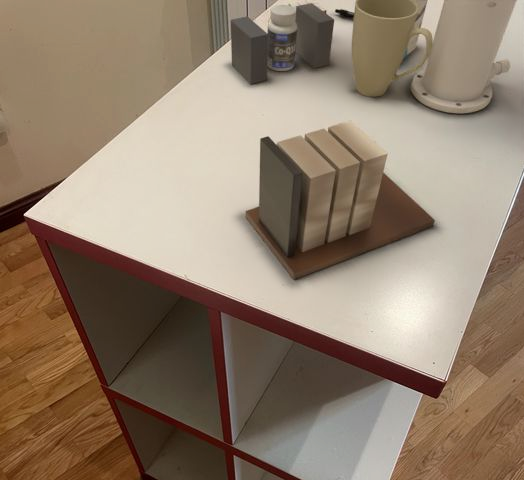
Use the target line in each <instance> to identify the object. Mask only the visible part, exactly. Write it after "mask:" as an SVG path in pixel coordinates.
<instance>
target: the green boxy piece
mask: <svg viewBox="0 0 524 480" xmlns="http://www.w3.org/2000/svg"><path fill="white" fill-rule="evenodd" d="M309 3H312V4H314V5H315V6H317V7H318V8H319V9H321V10H322V11H323V12H325V13H326V14H327V11H328V10H327V9H326V8H324V7H323V6H322V5H321V4H320V3H318V2H317V1H316V0H302V1H296V2H289V3H288V6H292V7H294V8H295V9H296V6H300V5H304V4H309Z"/></svg>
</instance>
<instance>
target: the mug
mask: <svg viewBox="0 0 524 480" xmlns="http://www.w3.org/2000/svg"><path fill="white" fill-rule="evenodd" d="M418 9H419V8H418V5H417V4H416V3H415V2H414V1H413V0H355V3H354V11H353V13H354V18H353V23H352V34H351V64H352V71H353V77H354V86H355V90H356V92H358V93H359V94H360V95H363V96H366V97H381V96H383V95H384V94H385V93H386V91H387V90H388V88H389V86H390V84H391V83H392V82H393V81H394V82H395V81H397V80H398V81H399V80H400V79H402V78H404V77H406V76H409V75H410V74H412V73H414V72H415V71H418V69H420V68H421V67H422V66H423V65H424V64H425V63H426V62H427V61H428V58H429V55H430V52H431V48H432V44H433V40H434V38H433V34H432V32H431V31H430V30H429V29H428V28H425V27H421V28H413V27H414V24H415V20H416V17H417V13H418ZM416 34H419V35H423V37H424V38H425V42H426V43H425V44H426V48H425V52H424V56H423V58H422V59H421V61H420V62H419V63H417V64H416V65H415V66H413V67H412V68H410V69H408V70H406V71H405V72H403V73H401V74H397V73H398V70H399V68H400V66H401V64H402V62H403V60H404V59H403V57H404V55H405V52H406V49H407V46H408V43H409V40H410V38H411V37H412V36H414V35H416Z"/></svg>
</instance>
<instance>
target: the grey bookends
mask: <svg viewBox="0 0 524 480" xmlns="http://www.w3.org/2000/svg"><path fill="white" fill-rule="evenodd" d="M295 22H296V24H297V38H296V52H295V55H298V56H299V57H300V58H301V59H302V60H303V61H304V62H306V63H307V64H308V66H310V67H311V68H312V69H318V68H321V67H326V66H329V65H330V60H331V51H332V44H333V43H332V42H333V35H334V26H335V18H333V17H332V16H330V15H329V14H328V13H327V12H326V13H325V12H323V11H322V10H321V9H319V8H318V7H317V6H315V5H314V4H312V3H309V4H304V5H300V6H296V20H295ZM230 45H231V47H230V48H231V50H230V51H231V66H232V67H233V68H234V69H235V70H236V71H237V72H238V73H239V74H240V75H241V76H242V77H243V79H245V81H247V82H248V83H249V84H250V85H255V84H258V83H262V82H266V81H268V66H267V59H268V32H267V31H266V30H264V29H263V28H261V26H259V25H258V24H257V23H256V22H255V21H254V20H253V19H251V18H250V17H249V16H243V17H236V18H233V19H230Z"/></svg>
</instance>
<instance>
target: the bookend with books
mask: <svg viewBox="0 0 524 480" xmlns="http://www.w3.org/2000/svg"><path fill="white" fill-rule="evenodd" d="M388 155H389V154H388V152H387V151H386V150H384V148H383V147H382V146H380V145H379V144H378V143H376V141H374V140H373V138H371V137H370V136H368V134H367V133H365V131H363V130H362V129H361V128H360V127H359V126H357V124H355V123H354V122H353V121H352V120H348V121H345V122H342V123H337V124H334V125H331V126H328V128H327V130H326V128H321V129H317V130H313V131H310V132H306V133H304V137H303V136H302V135H296V136H294V137H289V138H287V139H283V140H281V141H277V142H276V143H275V141H273V140H272V138H271V137H270V136H269V135H267V136H264V137H261V138H260V139H259V185H258V186H259V189H258V206H256V207H254V208H251V209H248V210H245V218H246V220H247V221H248V222H249V224H250V225H251V226H252V228H253V229H254V230H255V231H256V233H257V234H258V235H259V236H260V238H261V240H262V241H263V242H264V243H265V244H266V246H267V247H268V248H269V250H270V251H271V252H272V254H273V255H274V256H275V258H276V259H277V260H278V261H279V263H280V264H281V265H282V266H283V268H284V270H286V272H287V273H288V274H289V275H290V278H292V279H293V280H297V279H300V278H303V277H305V276H307V275H310V274H314V273H315V272H318V271H320V270H323V269H325V268H328V267H331V266H333V265H336V264H338V263H341V262H344V261H346V260H349V259H351V258H354V257H357V256H359V255H362V254H364V253H367V252H369V251H372V250H376V249H379V248H380V247H382V246H385V245H388V244H390V243H394V242H396V241H398V240H401V239H403V238H406V237H409V236H411V235H414V234H416V233H419V232H423V231H424V230H427V229H430V228H433V226H434V224H435V221H436V220H435V219H434V217H432V216H431V215H430V214H429V213H428V212H427V211H426V210H425V209H424V208H423V207H421V205H419V204H418V203H417V202H416V201H415V200H414V199H413V198H412V197H411V196H410V195H408V194H407V192H406V191H404V190H403V189H402V187H400V186H399V185H398V184H397V183H396V182H395V181H393V180H392V179H391V178H390V177H389V176H388V174H386V173H385V172H384V171H385V167H386V164H387V159H388Z"/></svg>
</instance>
